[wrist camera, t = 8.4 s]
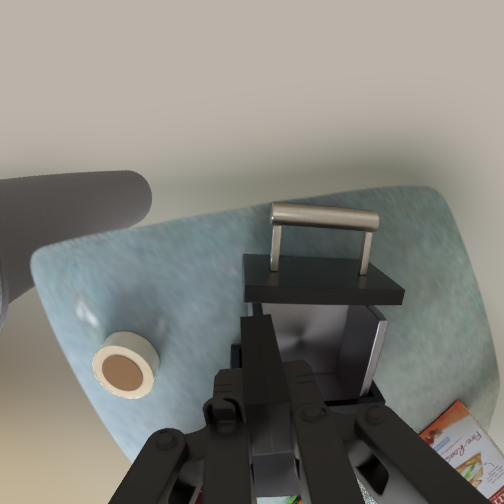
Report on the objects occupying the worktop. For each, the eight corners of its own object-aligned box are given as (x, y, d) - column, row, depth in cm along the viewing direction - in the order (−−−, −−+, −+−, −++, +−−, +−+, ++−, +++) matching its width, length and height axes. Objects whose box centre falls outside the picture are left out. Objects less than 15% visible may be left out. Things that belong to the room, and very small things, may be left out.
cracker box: (456, 397, 35) (530, 492, 15) (468, 409, 37) (535, 495, 16) (385, 458, 38) (432, 563, 17) (403, 466, 39) (448, 560, 19)
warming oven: (231, 344, 31) (229, 407, 22) (352, 344, 32) (386, 401, 22) (227, 435, 34) (226, 497, 25) (328, 433, 35) (346, 490, 26)
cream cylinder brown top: (107, 377, 32) (98, 394, 29) (98, 327, 30) (87, 341, 27) (162, 385, 32) (156, 403, 29) (157, 334, 30) (150, 350, 27)
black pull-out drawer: (246, 195, 27) (249, 205, 19) (373, 206, 27) (417, 220, 20) (236, 373, 31) (236, 426, 23) (343, 372, 32) (367, 420, 24)
